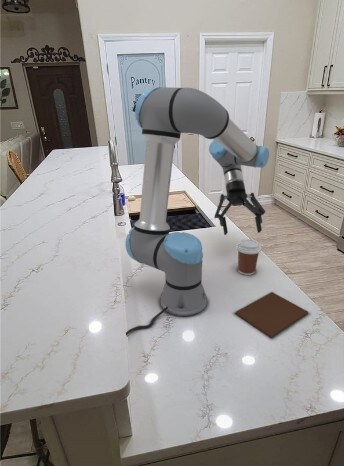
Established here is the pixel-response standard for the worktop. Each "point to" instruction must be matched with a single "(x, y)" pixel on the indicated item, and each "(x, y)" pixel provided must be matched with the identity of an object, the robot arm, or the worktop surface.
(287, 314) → the brown mat
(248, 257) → the coffee cup
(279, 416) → the worktop surface
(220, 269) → the worktop surface
